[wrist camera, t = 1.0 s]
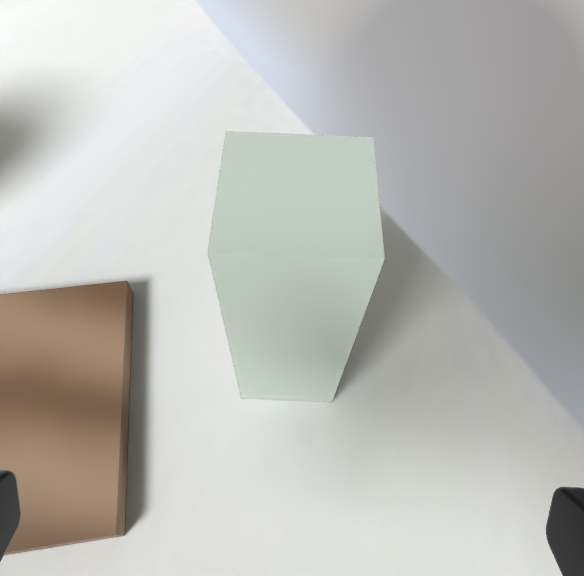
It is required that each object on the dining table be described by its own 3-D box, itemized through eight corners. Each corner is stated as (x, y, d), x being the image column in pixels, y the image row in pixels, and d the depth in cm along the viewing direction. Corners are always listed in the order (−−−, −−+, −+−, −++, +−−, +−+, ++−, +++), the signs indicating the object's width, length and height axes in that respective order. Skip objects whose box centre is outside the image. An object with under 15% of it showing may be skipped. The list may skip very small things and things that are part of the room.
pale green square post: (332, 401, 22) (384, 259, 11) (240, 398, 22) (207, 252, 11) (330, 320, 24) (373, 137, 14) (247, 317, 24) (225, 131, 14)
